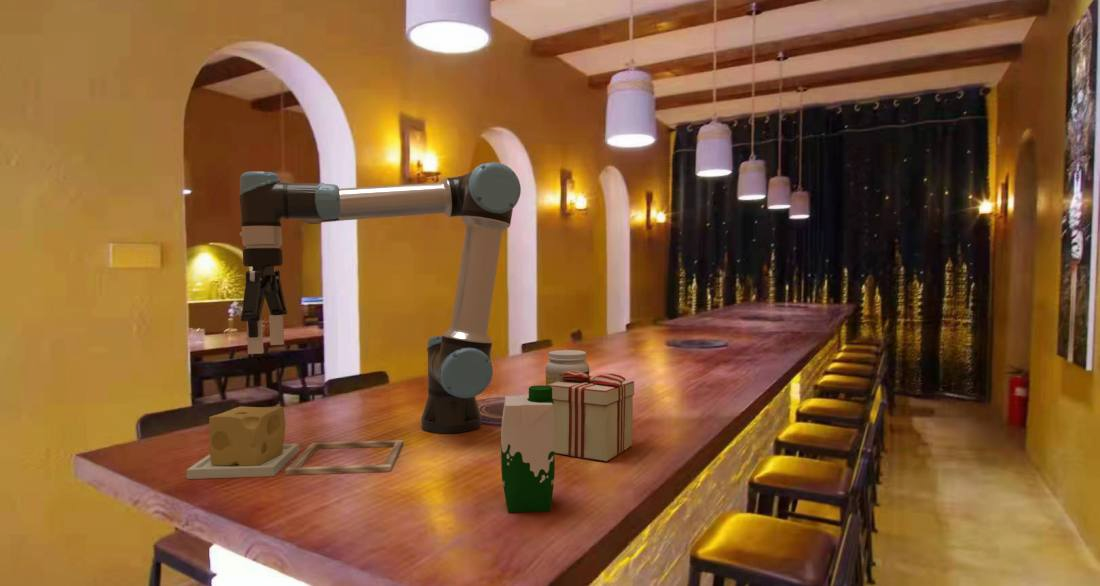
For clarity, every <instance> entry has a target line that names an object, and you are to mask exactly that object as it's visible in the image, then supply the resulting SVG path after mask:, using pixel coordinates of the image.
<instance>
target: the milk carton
mask: <svg viewBox="0 0 1100 586" xmlns="http://www.w3.org/2000/svg"><path fill="white" fill-rule="evenodd" d="M553 404H554V402H553V398H552V387H550V386H546V385H544V384H543V385H541V384H540V385H539V384H538V385H531V386H529V387H528V394H520V395H511V396H509V395H506V396H504V403H503V410H502V419H501V429H500V431H501V432H500V437H501V438H500V443H501V445H500V462H501V463H500V467H501V468H500V470H501V480H502V487H503V491H504V492H503V493H504V498H505V503H506V508H507V509H506V510H507V513H535V512H538V513H539V512H551V510H552V501H553V496H554V495H553V494H554V485H555V475H556V474H555V470H556V469H555V467H556V463H555V462H556V461H555V460H556V458H555V455H556V453H555V428H554V408H553Z"/></svg>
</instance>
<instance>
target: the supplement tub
mask: <svg viewBox="0 0 1100 586" xmlns="http://www.w3.org/2000/svg"><path fill="white" fill-rule="evenodd" d="M547 357H548V358H547V359H548V360H549V361H548V362H547V363H546V364H545V386H546V385H548V384H552V383H555V382H558V381H561V380H563V379H560V378H563V377H561V376H559V375H560V374H561V373H563V372H565V371H569V370H577V371H581V372H584V373H586V374H588V375H589V376H590V365H589V363H588V362H587V361H586V360H587V352H586V351H585V350H584V351H583V350H577V349H576V350H575V349H563V350H561V349H559V350H552V351H549V352H548V356H547Z"/></svg>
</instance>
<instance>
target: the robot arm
mask: <svg viewBox="0 0 1100 586" xmlns="http://www.w3.org/2000/svg"><path fill="white" fill-rule="evenodd" d="M521 192H522V189H521V182H520V179H519V177H518V176H517V174H516V173H515V171H513V169H512V168H510V166H508V165H506V164H504V163H501V162H496V161H494V162H493V161H492V162H487V163H486V162H484V163H482V164H479V165H478V166H476V167H475V168H474V169H473V170H472V171H470V172H468V173H466V174H462V175H459V176H454V177H444V178H443V179H442V180H441V181H440V182H429V183H428V182H427V183H411V184H396V185H395V184H394V185H380V186H379V185H375V186H363V187H362V186H360V187H348V188H347V187H346V188H339V186H338V185H336V183H335V184H333V183H330V184H329V183H324V182H320V183H309V182H308V183H306V182H305V183H299V182H298V183H295V182H294V183H292V182H291V183H289V182H281V179H280V177H279V174H277V173H275V172H271V171H261V170H260V171H259V170H258V171H254V170H253V171H246V172H244V173H242V174H241V175H240V177H239V194H238V195H239V206H240V208H239V209H240V222H241V231H240V232H239V236H240V237H241V239H242V241H241V242H242V246H244V247H245V248H244V249H243V250H242V264H243V267H246V268H247V267H252V270H248V271H246V272H245V287H244V294H243V295H244V296H243V300H242V301H243V302H242V307H241V315H240V316H241V317H240V321H241V322H246V334H247V335H246V336H247V341H246V342H247V355H256V354H258V355H259V354H264V336H263V335H264V334H263V332H264V331H263V320H261V316H262V313H263V307H264V304H265V300H266V303H267V304H266V305H267V306H268V309H269V312H270V315H269V316H268V322H269V323H268V324H269V327H268V328H269V341H270V342H269V345H270V346H282V345H285V334H284V333H285V332H284V331H285V330H284V329H285V328H284V315H287V314H288V309H287V307H286V302H285V298H284V297H285V296H284V293H283V287H282V282H281V272H280V270H279V269H275V267H280V266H282V265H283V264H284V262H283V261H284V260H283V258H284V257H283V249H282V248H280V247H281V246H282V245H283V238H282V237H283V236H282V235H283V234H282V223H281V222H282V220H283V219H286V220H301V221H303V222H305V223H306V224H308V225H309V224H310V225H318V224H321V223H329V222H340V221H342V222H343V221H352V220H353V221H354V220H369V219H381V218H394V217H395V218H397V217H407V216H409V217H410V216H422V215H436V214H438V215H439V214H444V215H445V216H446V217H448V218H451V217H460V219H461V220H462V222H463V223H464V225H465V231H464V238H463V242H462V243H463V246H462V249H461V250H462V251H461V255H460V256H461V258H460V264H459V269H458V274H457V275H458V277H457V283H456V289H455V296H454V301H453V309H452V314H451V321H450V327H449V328H448V329H447V330H446V331H445V332H444V333H442V335H437V336H431V337H429V338H428V339H427V347H426V352H427V398H426V399H427V400H426V403H425V405H424V408H423V412H422V415H421V419H420V420H421V421H420V422H421V425H420V427H421V429H422V430H424V431H427V432H430V433H437V434H456V433H457V434H458V433H464V432H466V433H467V432H470V431H471V432H472V431H474V430H476V429H479V428H480V427H481V426H482V425H483V423H482V421H483V420H482V414H481V411H480V407H479V404H478V402H477V398H476V397H477V396H479V395H480V394H482V393H484V391H485V390H486V389H487V388H488V386H490V384H491V381H492V378H493V373H494V372H493V363H492V361H491V353H492V352H491V351H492V346H493V340H492V338H490V336H489V335H488V328H489V323H490V322H489V321H490V315H491V310H492V303H493V302H492V301H493V297H494V291H495V285H496V284H495V283H496V276H497V270H498V264H499V257H500V252H501V246H502V245H501V244H502V239H503V238H502V237H503V233H504V231H506V230H507V229H508V228H510V227H511V222H512V216H513V211H514V208H515V207H516V205H517V204H518V202H519V200H520V197H521Z"/></svg>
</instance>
